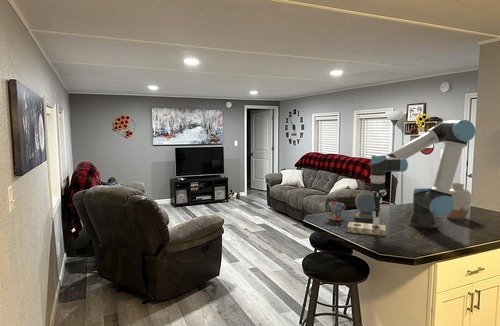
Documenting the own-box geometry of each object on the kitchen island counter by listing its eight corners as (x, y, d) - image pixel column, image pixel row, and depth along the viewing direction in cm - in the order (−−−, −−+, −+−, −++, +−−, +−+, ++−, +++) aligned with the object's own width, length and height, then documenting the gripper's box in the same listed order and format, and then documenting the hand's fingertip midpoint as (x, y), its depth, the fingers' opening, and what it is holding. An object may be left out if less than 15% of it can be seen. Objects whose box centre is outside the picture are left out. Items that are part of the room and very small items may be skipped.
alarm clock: (375, 215, 229) (376, 189, 227) (378, 219, 219) (379, 192, 217) (353, 214, 231) (354, 189, 229) (355, 218, 222) (356, 191, 220)
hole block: (384, 230, 195) (384, 225, 194) (385, 235, 185) (385, 230, 184) (348, 226, 202) (349, 221, 201) (347, 231, 191) (347, 226, 191)
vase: (465, 222, 212) (467, 186, 209) (438, 217, 223) (440, 183, 221) (473, 218, 222) (475, 184, 220) (447, 213, 234) (449, 181, 232)
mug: (335, 222, 211) (335, 205, 210) (325, 218, 219) (326, 202, 218) (349, 220, 217) (350, 203, 215) (339, 216, 225) (340, 201, 224)
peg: (378, 231, 192) (378, 214, 191) (378, 233, 189) (378, 215, 189) (372, 231, 193) (373, 213, 192) (372, 232, 191) (373, 215, 190)
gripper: (370, 179, 201) (370, 213, 204) (370, 185, 178) (369, 224, 180) (384, 179, 199) (383, 214, 201) (385, 186, 176) (384, 226, 178)
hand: (376, 219), depth 191 cm, fingers open, 13 cm apart
